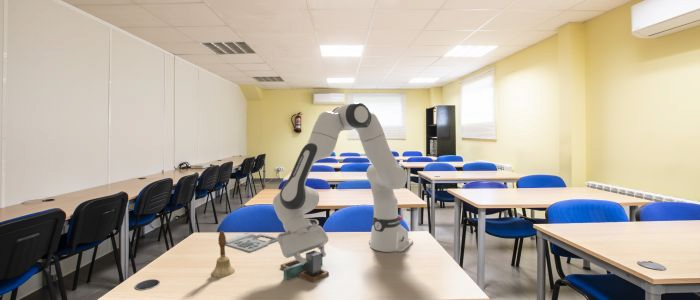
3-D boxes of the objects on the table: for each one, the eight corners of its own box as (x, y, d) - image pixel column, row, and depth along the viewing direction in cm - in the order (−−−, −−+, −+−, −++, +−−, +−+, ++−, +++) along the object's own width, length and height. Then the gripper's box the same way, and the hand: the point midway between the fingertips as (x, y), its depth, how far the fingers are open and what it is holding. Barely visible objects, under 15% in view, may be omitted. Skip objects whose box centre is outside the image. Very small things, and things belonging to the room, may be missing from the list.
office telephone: (217, 239, 157) (250, 229, 173) (217, 245, 157) (250, 234, 173) (250, 248, 144) (282, 235, 161) (250, 253, 144) (282, 241, 161)
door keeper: (305, 258, 137) (305, 250, 137) (338, 270, 125) (338, 262, 124) (269, 271, 124) (269, 262, 124) (301, 287, 111) (301, 277, 111)
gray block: (314, 272, 123) (313, 250, 123) (321, 275, 121) (321, 253, 120) (306, 275, 120) (305, 253, 120) (313, 278, 118) (313, 256, 117)
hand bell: (226, 278, 119) (225, 235, 118) (206, 276, 120) (205, 233, 120) (239, 268, 127) (238, 228, 126) (220, 267, 128) (219, 227, 128)
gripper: (278, 230, 116) (296, 264, 110) (320, 219, 132) (337, 248, 126) (271, 239, 120) (288, 273, 114) (313, 227, 135) (329, 256, 129)
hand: (314, 260), depth 120 cm, fingers open, 8 cm apart
